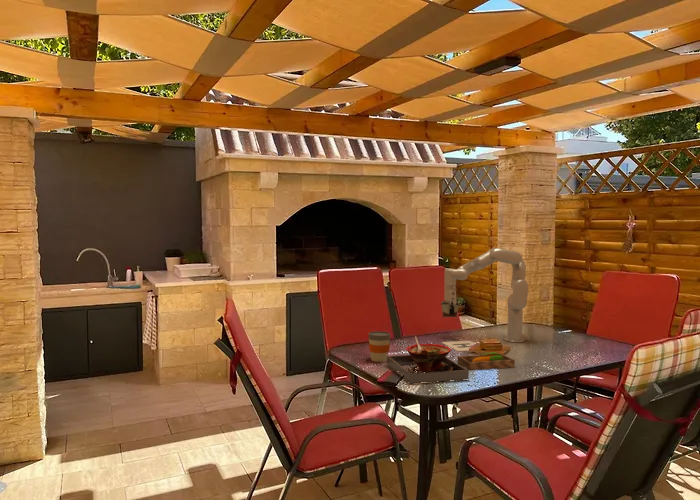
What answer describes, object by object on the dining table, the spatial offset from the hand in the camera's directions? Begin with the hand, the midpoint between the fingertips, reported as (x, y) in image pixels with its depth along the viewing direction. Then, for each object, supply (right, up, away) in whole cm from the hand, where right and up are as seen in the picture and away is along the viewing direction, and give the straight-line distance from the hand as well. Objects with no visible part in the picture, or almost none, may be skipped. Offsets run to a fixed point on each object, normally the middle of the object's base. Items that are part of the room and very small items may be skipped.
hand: (449, 313), depth 361 cm
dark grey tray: (-27, -21, -81) cm, 88 cm away
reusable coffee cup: (-51, -20, -56) cm, 78 cm away
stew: (-26, -21, -76) cm, 83 cm away
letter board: (+5, -18, -21) cm, 28 cm away
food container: (0, -2, +1) cm, 2 cm away
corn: (+8, -21, -67) cm, 71 cm away
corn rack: (+8, -21, -65) cm, 69 cm away
